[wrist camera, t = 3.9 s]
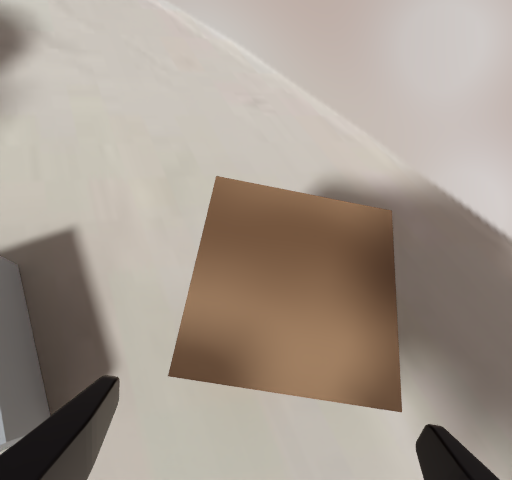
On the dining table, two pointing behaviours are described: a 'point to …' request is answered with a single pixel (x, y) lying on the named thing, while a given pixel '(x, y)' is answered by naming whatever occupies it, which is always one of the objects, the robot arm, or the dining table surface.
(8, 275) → the grey slab
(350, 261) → the walnut block
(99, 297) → the dining table surface
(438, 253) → the dining table surface
